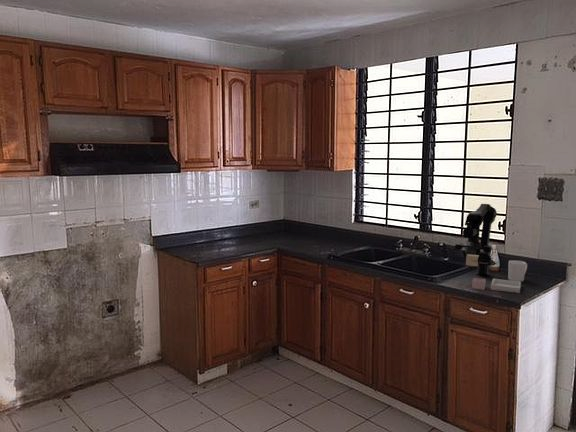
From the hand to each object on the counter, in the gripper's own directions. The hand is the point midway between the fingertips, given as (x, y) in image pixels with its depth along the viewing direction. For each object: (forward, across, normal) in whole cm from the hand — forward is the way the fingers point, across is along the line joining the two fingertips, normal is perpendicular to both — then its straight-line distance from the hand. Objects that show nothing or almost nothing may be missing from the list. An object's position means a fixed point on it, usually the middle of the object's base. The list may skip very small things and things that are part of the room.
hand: (472, 262), depth 267 cm
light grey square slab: (+11, +18, -4) cm, 21 cm away
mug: (+11, +23, +17) cm, 31 cm away
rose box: (+11, +5, -10) cm, 16 cm away
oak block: (+1, 0, 0) cm, 1 cm away
